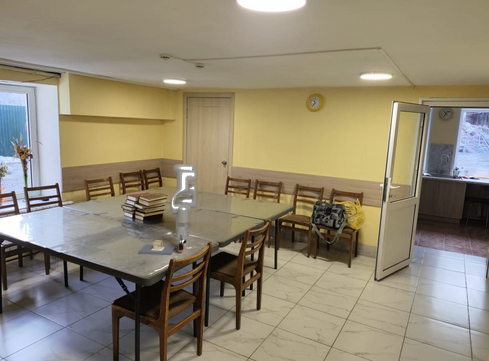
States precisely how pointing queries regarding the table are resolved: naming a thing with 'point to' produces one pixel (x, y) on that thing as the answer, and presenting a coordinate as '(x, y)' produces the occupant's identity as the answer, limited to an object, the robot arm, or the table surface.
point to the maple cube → (157, 245)
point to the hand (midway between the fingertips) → (182, 247)
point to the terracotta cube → (183, 248)
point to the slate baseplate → (164, 251)
